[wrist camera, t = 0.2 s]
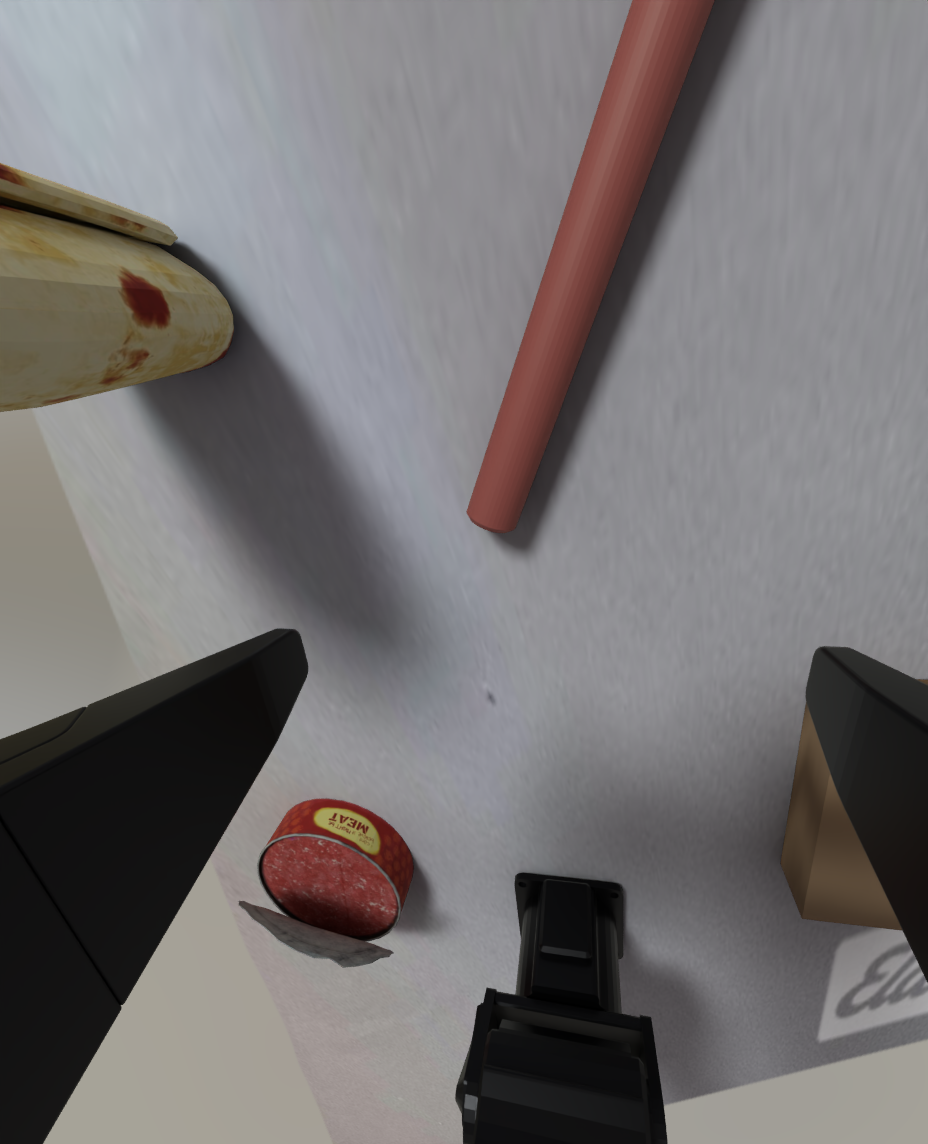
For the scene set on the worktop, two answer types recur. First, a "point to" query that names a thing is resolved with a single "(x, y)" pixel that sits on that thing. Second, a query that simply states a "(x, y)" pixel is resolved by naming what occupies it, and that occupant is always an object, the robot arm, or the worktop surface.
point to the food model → (94, 297)
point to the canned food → (333, 881)
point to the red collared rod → (587, 245)
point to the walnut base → (828, 848)
